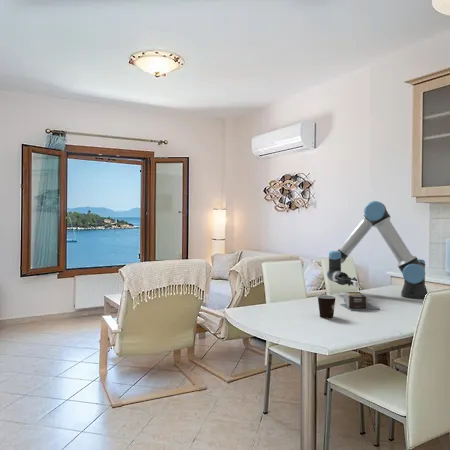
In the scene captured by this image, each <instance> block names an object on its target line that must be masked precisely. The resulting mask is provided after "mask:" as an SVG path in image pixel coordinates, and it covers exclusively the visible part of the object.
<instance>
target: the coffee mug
mask: <svg viewBox="0 0 450 450" xmlns="http://www.w3.org/2000/svg"><path fill="white" fill-rule="evenodd" d="M336 298H337V297H336V296H333V295H330V294H329V295H328V294H322V295H318V296H317V304H318V312H319V318H321V319H333V318H334V314H335V313H334V312H335V305H336Z"/></svg>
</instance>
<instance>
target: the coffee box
mask: <svg viewBox="0 0 450 450" xmlns="http://www.w3.org/2000/svg"><path fill="white" fill-rule="evenodd" d="M366 303H367V296H365V295H364V294H363V293H362V292H360V291H343V304H346V305H347V306H348V307H349V308H363V309H365V308H366Z"/></svg>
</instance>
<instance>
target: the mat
mask: <svg viewBox="0 0 450 450" xmlns="http://www.w3.org/2000/svg"><path fill="white" fill-rule="evenodd" d="M340 306H342V307H344V308H345V309H347V310H349V311H351V312H352V311H354V312H355V311H380V310H381V308H380V307H377V306H375V305H373V304H371V303H369V302H366V308H365V309H363V308H349V307H348V306H347V305H346V304H345V303H340Z"/></svg>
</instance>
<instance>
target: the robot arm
mask: <svg viewBox="0 0 450 450" xmlns="http://www.w3.org/2000/svg"><path fill="white" fill-rule="evenodd" d="M363 213H364V215H363V216H362V220H361V221H360V222H359V223H358V224H357V226H355V228H354V230H352V232H351V233H350V235H349V236H347V238H346V239H345V241H344V242H343V243H342V245H341V246H340V247H339V248H338V249H337V250H331V251H329V252H328V271H327V272H326V276H327V279H328V280H329V281H331V282H334V283H336V284H338V285H341V286H344V285H347V286H348V287H351V286H353V287H355V288H356V287H359V282H358V279H357V278H356V277H350V276H349V275H348V274H347V273H346V272H343V271H342V264H343V263H344V262H346V259H347V258H348V257H349V256H350V255H351V253H352V252H353V251H354V250H355V248H356V247H357V246H358V245H359V243H360V242H362V241H363V239H364V238H365V236H366V235H367V234H368V233H369V231H370V230H372V228H376V229H377V230H378V233H380V235H381V236H382V237H381V238H382V239H383V240H384V242H385V243H386V245H387V247H388V248H389V249H390V251H391V253H392V254H393V256H394V257H395V259H396V260H397V262H398V264H397V267H398V268H399V271H400V272H401V274H402V277H403V279H404V280H403V282H404V283H403V286H402V289H401V293H400V295H401V297H403V298H408V299H418V300H420V299H425V298H424V297H425V295H426V294H427V293H428V292H429V291H428V290H427V286H426V260H424V259H418V257H417V256H415V255H413V254H412V253H411V252H410V250H409V248H408V247H407V245H406V244H405V242H404V241H403V239H402V238H401V236H400V234H399V233H398V231H397V230H396V227H394V225H393V223H392V221H391V215H390V213H389V212H388V211H387V207H386V205H385V204H384V203H382V202H380V201H377V200H372V201H369V202H368V203H367V204H366V205H365V207H364V209H363ZM428 294H429V293H428Z"/></svg>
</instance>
